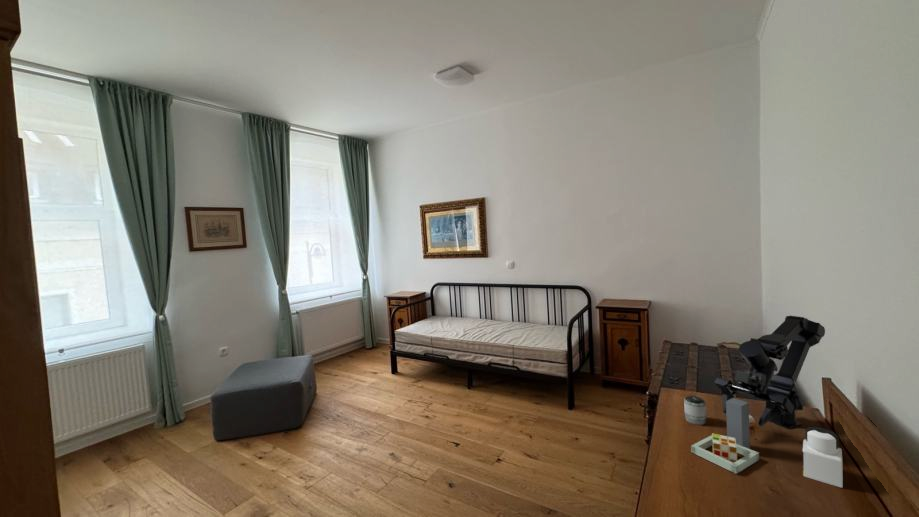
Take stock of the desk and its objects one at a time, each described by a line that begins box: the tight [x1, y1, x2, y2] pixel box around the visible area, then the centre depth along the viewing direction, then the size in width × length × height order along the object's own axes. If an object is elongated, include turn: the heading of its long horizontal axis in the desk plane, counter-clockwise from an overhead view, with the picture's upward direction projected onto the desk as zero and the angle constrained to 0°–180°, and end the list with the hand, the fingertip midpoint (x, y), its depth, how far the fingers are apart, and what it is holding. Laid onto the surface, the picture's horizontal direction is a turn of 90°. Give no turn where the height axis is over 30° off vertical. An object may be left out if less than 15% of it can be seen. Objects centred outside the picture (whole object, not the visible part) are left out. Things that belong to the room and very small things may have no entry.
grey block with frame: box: [690, 398, 760, 475], centre depth 105 cm, size 15×12×14 cm
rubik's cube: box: [711, 432, 738, 463], centre depth 103 cm, size 6×6×6 cm
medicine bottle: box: [802, 426, 844, 489], centre depth 94 cm, size 7×7×12 cm
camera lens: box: [683, 395, 707, 426], centre depth 124 cm, size 6×6×8 cm
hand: (741, 418), depth 108 cm, fingers open, 9 cm apart
